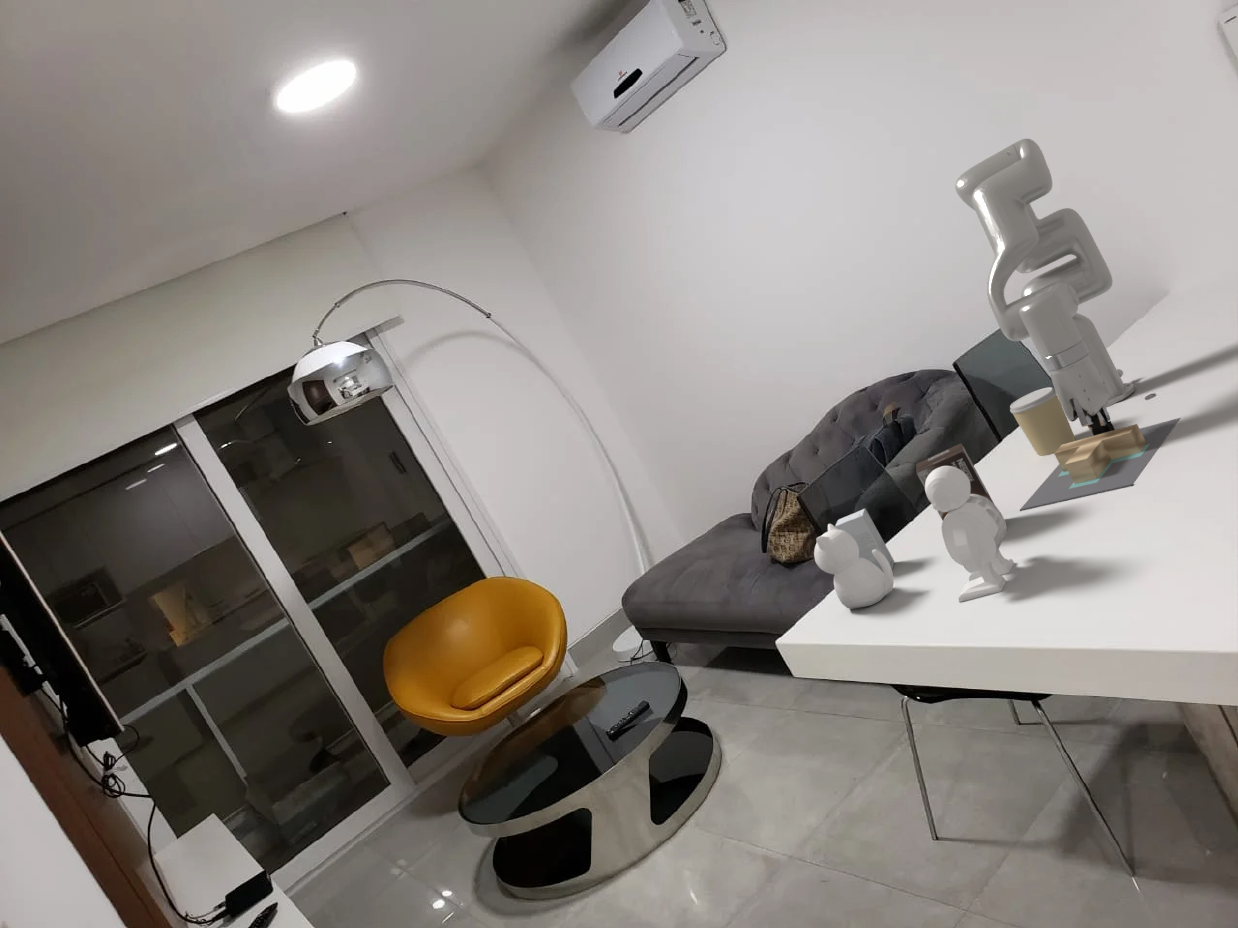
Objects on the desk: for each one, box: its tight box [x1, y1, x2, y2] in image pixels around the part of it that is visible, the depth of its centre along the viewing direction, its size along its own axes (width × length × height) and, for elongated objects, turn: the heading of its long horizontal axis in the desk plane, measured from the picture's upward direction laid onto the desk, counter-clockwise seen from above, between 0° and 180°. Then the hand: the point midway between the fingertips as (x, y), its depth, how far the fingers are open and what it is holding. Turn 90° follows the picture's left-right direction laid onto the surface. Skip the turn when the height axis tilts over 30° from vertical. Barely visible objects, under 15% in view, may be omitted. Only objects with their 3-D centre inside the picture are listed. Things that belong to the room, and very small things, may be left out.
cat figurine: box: [813, 523, 895, 610], centre depth 157 cm, size 9×12×15 cm
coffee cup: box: [1009, 386, 1077, 457], centre depth 183 cm, size 9×9×12 cm
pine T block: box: [1054, 423, 1147, 484], centre depth 160 cm, size 12×14×4 cm
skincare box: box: [834, 508, 895, 573], centre depth 169 cm, size 6×4×12 cm
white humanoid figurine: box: [924, 466, 1015, 603], centre depth 138 cm, size 14×9×20 cm, turn 142°
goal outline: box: [1058, 444, 1150, 489], centre depth 160 cm, size 13×15×1 cm
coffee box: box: [915, 442, 996, 522], centre depth 160 cm, size 9×6×16 cm
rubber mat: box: [1019, 417, 1181, 512], centre depth 161 cm, size 28×20×1 cm
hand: (1109, 443), depth 165 cm, fingers closed
